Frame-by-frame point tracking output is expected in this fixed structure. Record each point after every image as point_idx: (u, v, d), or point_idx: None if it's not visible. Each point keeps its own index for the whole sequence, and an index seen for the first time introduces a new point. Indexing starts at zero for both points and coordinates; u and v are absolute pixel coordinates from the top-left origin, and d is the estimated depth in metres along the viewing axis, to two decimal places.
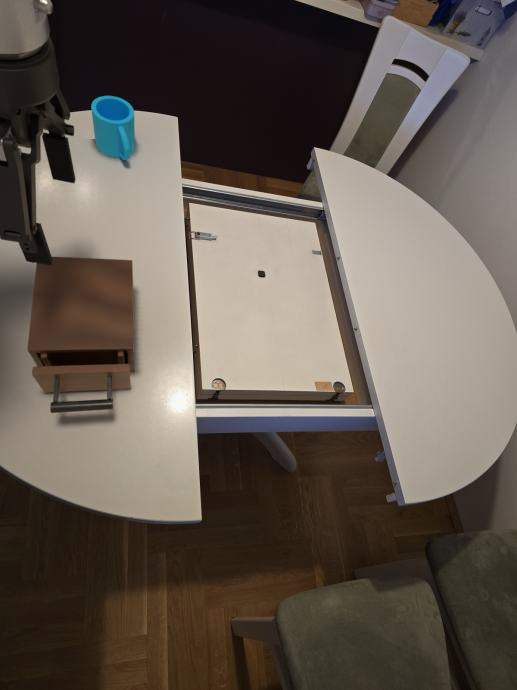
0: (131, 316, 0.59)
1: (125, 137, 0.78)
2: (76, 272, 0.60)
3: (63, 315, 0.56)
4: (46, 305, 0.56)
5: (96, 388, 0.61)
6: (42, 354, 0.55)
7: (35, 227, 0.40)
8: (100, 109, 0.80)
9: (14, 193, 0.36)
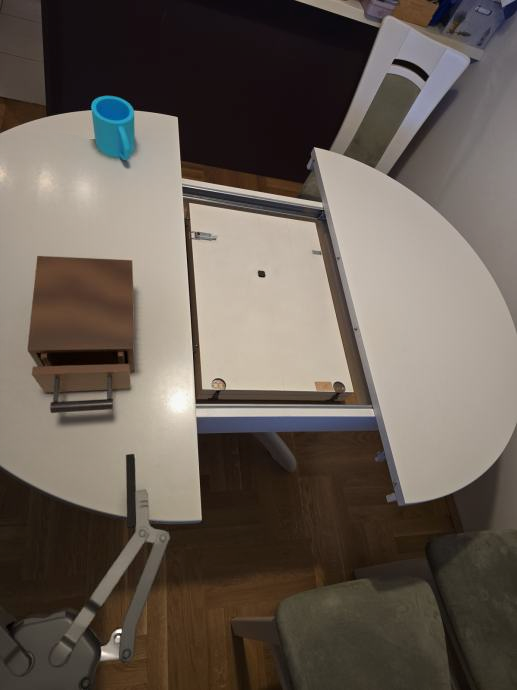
0: (131, 316, 0.59)
1: (125, 137, 0.78)
2: (76, 272, 0.60)
3: (63, 315, 0.56)
4: (46, 305, 0.56)
5: (96, 388, 0.61)
6: (42, 354, 0.55)
7: None
8: (100, 109, 0.80)
9: None
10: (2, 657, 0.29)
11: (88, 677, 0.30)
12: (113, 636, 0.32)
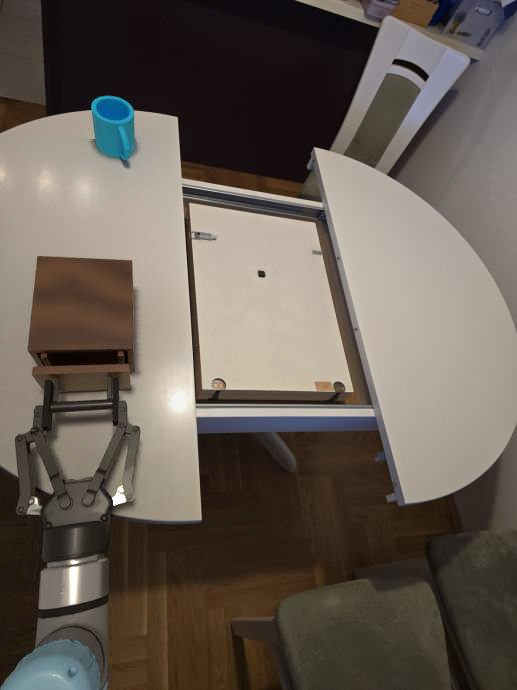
0: (131, 316, 0.59)
1: (125, 137, 0.78)
2: (76, 272, 0.60)
3: (63, 315, 0.56)
4: (46, 305, 0.56)
5: (96, 388, 0.61)
6: (42, 354, 0.55)
7: None
8: (100, 109, 0.80)
9: None
10: (56, 494, 0.48)
11: (105, 515, 0.49)
12: (118, 490, 0.51)
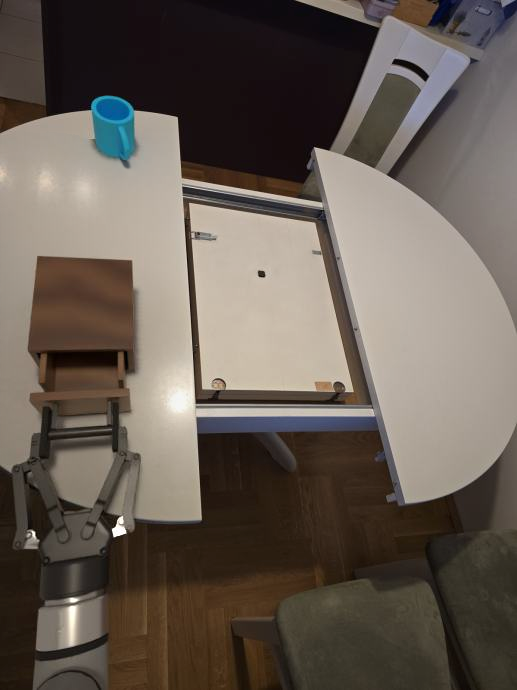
0: (131, 316, 0.59)
1: (125, 137, 0.78)
2: (76, 272, 0.60)
3: (63, 315, 0.56)
4: (46, 305, 0.56)
5: (95, 411, 0.60)
6: (40, 379, 0.53)
7: None
8: (100, 109, 0.80)
9: None
10: (54, 527, 0.46)
11: (105, 548, 0.48)
12: (118, 521, 0.49)
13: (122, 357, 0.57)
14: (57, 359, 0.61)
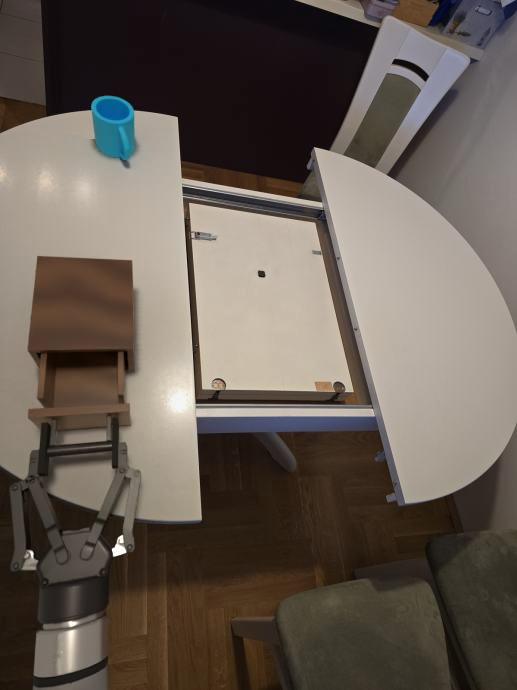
0: (131, 316, 0.59)
1: (125, 137, 0.78)
2: (76, 272, 0.60)
3: (63, 315, 0.56)
4: (46, 305, 0.56)
5: (95, 425, 0.59)
6: (38, 395, 0.52)
7: None
8: (100, 109, 0.80)
9: None
10: (53, 548, 0.46)
11: (105, 568, 0.47)
12: (118, 541, 0.49)
13: (122, 371, 0.57)
14: (56, 372, 0.60)
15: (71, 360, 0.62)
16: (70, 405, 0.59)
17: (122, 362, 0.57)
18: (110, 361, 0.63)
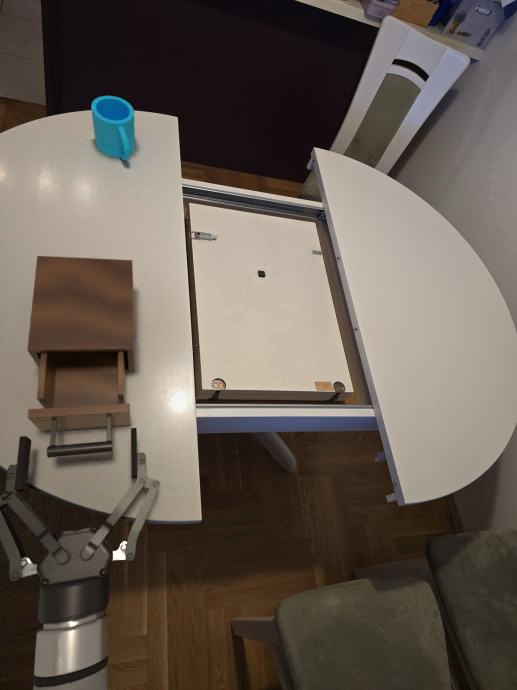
0: (131, 316, 0.59)
1: (125, 137, 0.78)
2: (76, 272, 0.60)
3: (63, 315, 0.56)
4: (46, 305, 0.56)
5: (95, 426, 0.59)
6: (38, 395, 0.52)
7: None
8: (100, 109, 0.80)
9: None
10: (51, 552, 0.46)
11: (105, 568, 0.47)
12: (121, 545, 0.49)
13: (122, 371, 0.56)
14: (56, 372, 0.60)
15: (71, 360, 0.62)
16: (70, 405, 0.59)
17: (122, 362, 0.57)
18: (110, 361, 0.63)
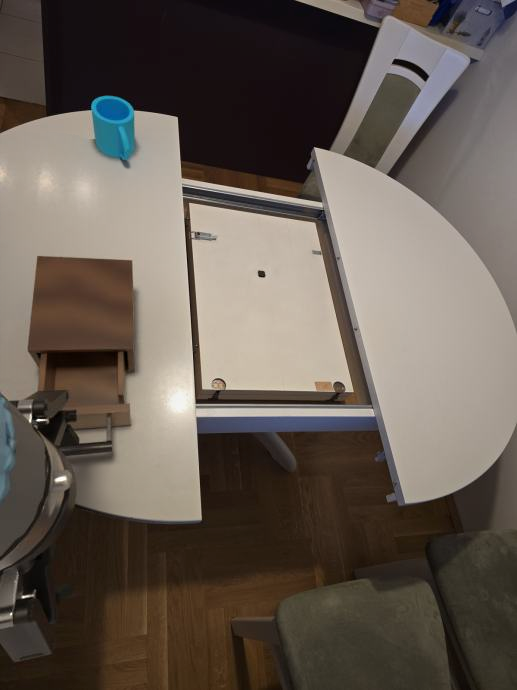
0: (131, 316, 0.59)
1: (125, 137, 0.78)
2: (76, 272, 0.60)
3: (63, 315, 0.56)
4: (46, 305, 0.56)
5: (95, 426, 0.59)
6: None
7: (57, 613, 0.30)
8: (100, 109, 0.80)
9: (32, 635, 0.25)
10: None
11: None
12: None
13: (122, 371, 0.56)
14: (56, 372, 0.60)
15: (71, 360, 0.62)
16: (70, 405, 0.59)
17: (122, 362, 0.57)
18: (110, 361, 0.63)
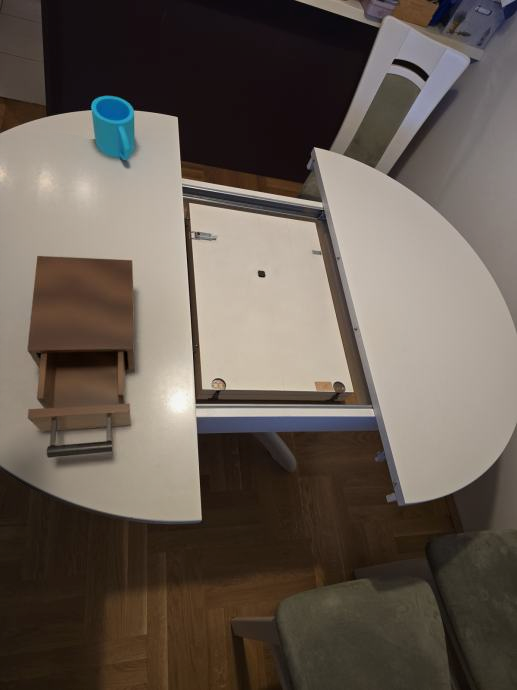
0: (131, 316, 0.59)
1: (125, 137, 0.78)
2: (76, 272, 0.60)
3: (63, 315, 0.56)
4: (46, 305, 0.56)
5: (95, 426, 0.59)
6: (38, 395, 0.52)
7: None
8: (100, 109, 0.80)
9: None
10: None
11: None
12: None
13: (122, 371, 0.56)
14: (56, 372, 0.60)
15: (71, 360, 0.62)
16: (70, 405, 0.59)
17: (122, 362, 0.57)
18: (110, 361, 0.63)
